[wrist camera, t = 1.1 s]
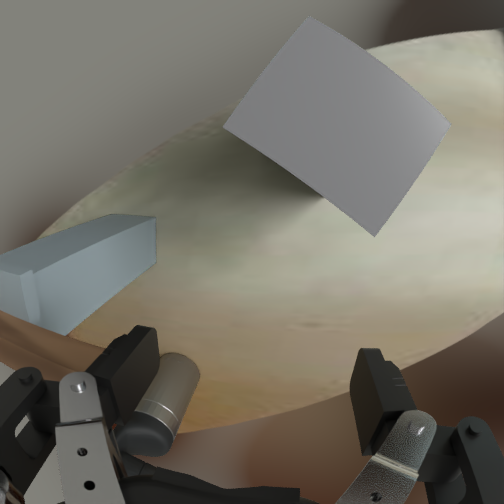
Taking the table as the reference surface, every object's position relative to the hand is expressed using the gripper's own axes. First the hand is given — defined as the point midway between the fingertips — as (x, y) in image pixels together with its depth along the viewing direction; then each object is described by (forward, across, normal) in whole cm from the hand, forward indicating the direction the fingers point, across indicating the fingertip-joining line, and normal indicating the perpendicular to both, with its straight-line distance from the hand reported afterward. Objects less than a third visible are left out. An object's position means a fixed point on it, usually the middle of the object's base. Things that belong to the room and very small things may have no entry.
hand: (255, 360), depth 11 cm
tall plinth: (+36, -24, -5) cm, 44 cm away
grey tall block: (+36, +4, +11) cm, 38 cm away
